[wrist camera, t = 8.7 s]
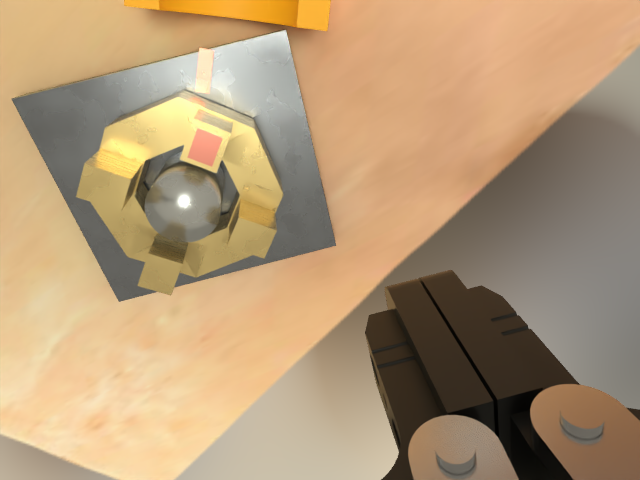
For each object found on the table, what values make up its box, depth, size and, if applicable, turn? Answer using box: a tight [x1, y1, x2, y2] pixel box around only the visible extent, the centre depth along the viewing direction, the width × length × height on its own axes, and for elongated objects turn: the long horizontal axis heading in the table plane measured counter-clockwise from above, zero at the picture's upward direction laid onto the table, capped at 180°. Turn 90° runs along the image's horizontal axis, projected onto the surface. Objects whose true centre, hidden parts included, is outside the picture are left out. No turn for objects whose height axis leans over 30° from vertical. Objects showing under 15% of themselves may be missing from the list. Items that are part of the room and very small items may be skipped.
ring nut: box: [76, 90, 283, 295], centre depth 33 cm, size 13×13×7 cm
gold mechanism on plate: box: [12, 29, 336, 302], centre depth 34 cm, size 20×18×8 cm
